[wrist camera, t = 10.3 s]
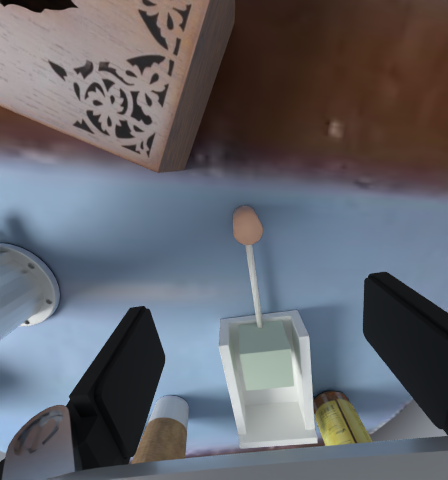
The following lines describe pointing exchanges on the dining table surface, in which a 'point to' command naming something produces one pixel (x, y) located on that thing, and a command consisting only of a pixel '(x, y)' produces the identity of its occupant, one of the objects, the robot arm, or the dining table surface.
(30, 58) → the tissue box cover
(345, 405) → the sauce bottle
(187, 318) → the dining table surface
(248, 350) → the sliding handle
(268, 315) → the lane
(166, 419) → the coffee cup
